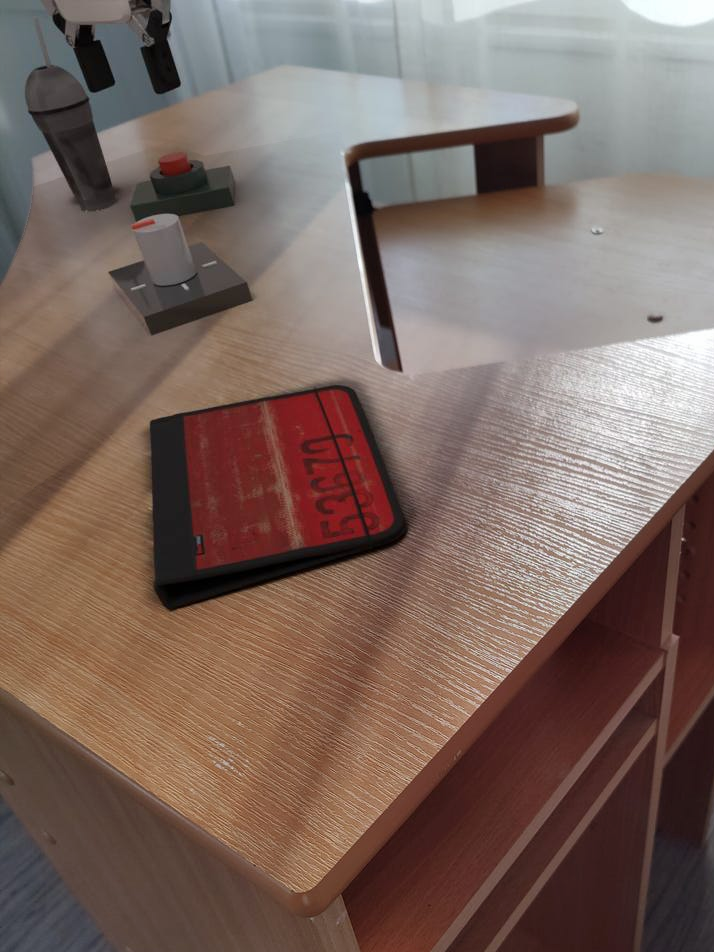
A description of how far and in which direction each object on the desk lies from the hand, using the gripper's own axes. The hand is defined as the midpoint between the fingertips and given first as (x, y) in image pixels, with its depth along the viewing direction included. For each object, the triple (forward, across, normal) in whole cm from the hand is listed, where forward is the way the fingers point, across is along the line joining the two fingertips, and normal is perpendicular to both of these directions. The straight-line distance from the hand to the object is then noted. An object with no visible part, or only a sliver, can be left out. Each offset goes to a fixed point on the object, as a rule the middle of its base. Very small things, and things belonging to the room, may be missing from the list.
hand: (135, 89), depth 89 cm
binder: (+15, -42, +35) cm, 57 cm away
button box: (+15, +10, -10) cm, 21 cm away
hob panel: (+15, -13, +14) cm, 24 cm away
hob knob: (+12, -13, +14) cm, 22 cm away
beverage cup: (+15, +23, -7) cm, 28 cm away
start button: (+12, +10, -10) cm, 18 cm away
